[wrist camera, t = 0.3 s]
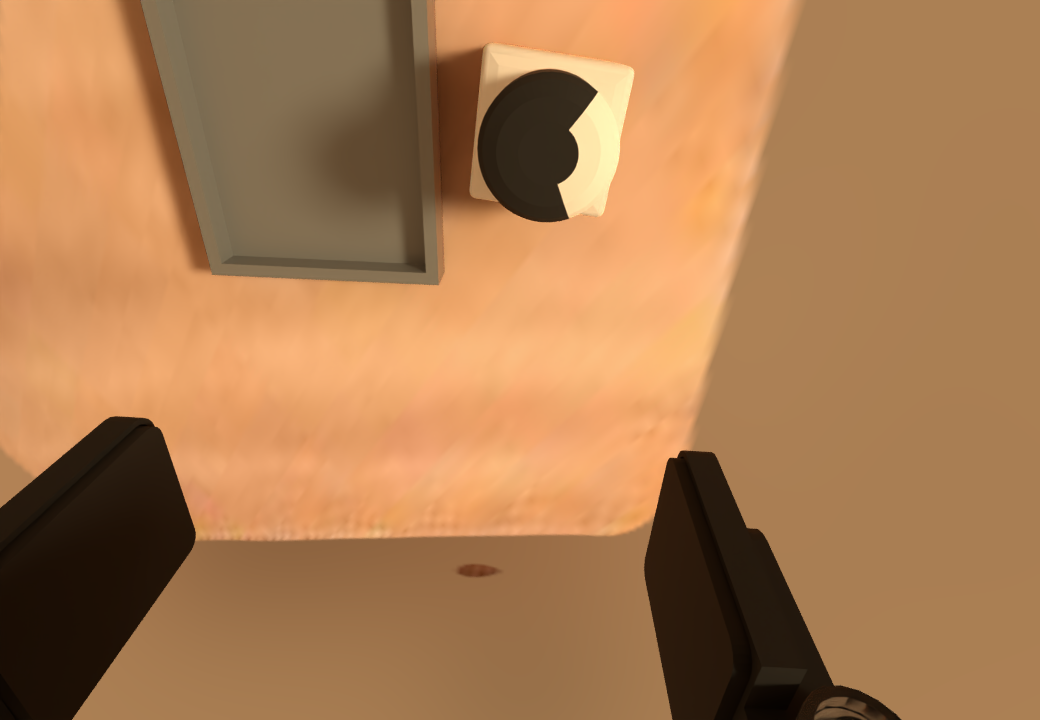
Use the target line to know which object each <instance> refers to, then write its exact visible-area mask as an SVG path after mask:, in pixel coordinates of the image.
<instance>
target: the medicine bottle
mask: <svg viewBox="0 0 1040 720" xmlns="http://www.w3.org/2000/svg"><path fill="white" fill-rule="evenodd" d="M633 79H634V70H633V69H632V67H630V66H627V65H623V64H620V63H616V62H612V61H606V60H600V59H594V58H588V57H582V56H576V55H570V54H564V53H558V52H552V51H546V50H540V49H534V48H528V47H522V46H516V45H510V44H504V43H488V44H487V45H485V46H484V49H483V55H482V66H481V76H480V86H479V97H478V107H477V117H476V128H475V138H474V148H473V159H472V169H471V179H470V194H471V196H472V197H474V198H476V199H483V200H489V201H496V202H499V203H501V204H502V205H503V206H504V207H505V208H506V209H508V210H509V211H511V212H512V213H514V214H516V215H518V216H520V217H522V218H525V219H529V220H532V221H538V222H556V221H562V220H566V219H569V218H572V217H574V216H577V215H586V216H592V217H600V216H601V215H602V214H603V212H604V209H605V205H606V200H607V196H608V191H609V187H610V183H611V181H612V179H613V176H614V174H615V171H616V168H617V164H618V160H619V152H620V137H621V133H622V128H623V124H624V119H625V115H626V110H627V106H628V101H629V97H630V92H631V88H632V83H633Z"/></svg>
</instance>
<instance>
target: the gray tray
mask: <svg viewBox="0 0 1040 720" xmlns="http://www.w3.org/2000/svg"><path fill="white" fill-rule="evenodd" d="M140 1H141V5H142V9H143V13H144V17H145V20H146V24H147V28H148V32H149V36H150V39H151V43H152V47H153V51H154V55H155V58H156V62H157V66H158V70H159V74H160V77H161V81H162V85H163V89H164V93H165V97H166V100H167V104H168V108H169V112H170V116H171V119H172V123H173V127H174V131H175V135H176V138H177V142H178V146H179V150H180V154H181V158H182V161H183V165H184V169H185V173H186V177H187V180H188V184H189V188H190V192H191V196H192V199H193V203H194V207H195V211H196V215H197V219H198V222H199V226H200V230H201V234H202V238H203V241H204V245H205V249H206V253H207V257H208V260H209V264H210V268H211V272H212V275H228V276H250V277H272V278H293V279H315V280H337V281H358V282H380V283H402V284H424V285H439V284H440V281H441V279H442V277H443V274H444V246H443V219H442V191H441V164H440V137H439V110H438V82H437V55H436V28H435V1H434V0H140Z"/></svg>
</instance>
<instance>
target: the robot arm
mask: <svg viewBox="0 0 1040 720" xmlns="http://www.w3.org/2000/svg"><path fill="white" fill-rule="evenodd" d="M195 538H196V532H195V528H194V525H193V522H192V519H191V516H190V513H189V510H188V507H187V504H186V502H185V499H184V496H183V493H182V490H181V487H180V484H179V481H178V478H177V475H176V472H175V469H174V466H173V463H172V460H171V457H170V454H169V451H168V448H167V445H166V443H165V440H164V437H163V434H162V432H161V430H160V429H159V428H158V427H155V426H154V424H153V422H151V421H150V420H149V419H146V418H135V417H118V416H115V417H110V418H108V419H106V420H105V421H103V422H102V423H101V424H100V425H99V426H98V427H96V428H95V429H94V430H93V431H92V432H90V433H89V434H88V435H87V436H86V437H84V438H83V439H82V440H81V441H80V442H78V443H77V444H76V445H75V446H74V447H73V448H71V449H70V450H69V451H68V452H67V453H65V454H64V455H63V456H62V457H61V458H59V459H58V460H57V461H56V462H55V463H53V464H52V465H51V466H50V467H49V468H48V469H46V470H45V471H44V472H43V473H42V474H40V475H39V476H38V477H37V478H36V479H34V480H33V481H32V482H31V483H30V484H28V485H27V486H26V487H25V488H24V489H23V490H21V491H20V492H19V493H18V494H17V495H15V496H14V497H13V498H12V499H11V500H9V501H8V502H7V503H6V504H5V505H3V506H2V507H1V508H0V720H72V719H73V717H74V716H75V715H76V713H77V712H78V710H79V709H80V707H81V706H82V705H83V703H84V702H85V700H86V699H87V698H88V696H89V695H90V693H91V692H92V690H93V689H94V688H95V686H96V685H97V683H98V682H99V681H100V679H101V678H102V676H103V675H104V673H105V672H106V670H107V669H108V668H109V666H110V665H111V663H112V662H113V661H114V659H115V658H116V656H117V655H118V653H119V652H120V651H121V649H122V647H123V646H124V645H125V643H126V642H127V641H128V639H129V638H130V637H131V635H132V634H133V632H134V631H135V629H136V628H137V627H138V625H139V624H140V622H141V621H142V620H143V618H144V617H145V615H146V614H147V613H148V611H149V610H150V608H151V607H152V605H153V604H154V603H155V601H156V600H157V598H158V597H159V595H160V594H161V592H162V591H163V590H164V588H165V587H166V586H167V584H168V583H169V581H170V580H171V578H172V577H173V576H174V574H175V573H176V571H177V570H178V569H179V567H180V566H181V564H182V563H183V561H184V560H185V559H186V557H187V556H188V554H189V553H190V551H191V550H192V548H193V545H194V542H195ZM644 565H645V566H644V571H645V580H646V586H647V591H648V596H649V601H650V606H651V611H652V617H653V622H654V627H655V631H656V637H657V642H658V647H659V652H660V657H661V663H662V668H663V673H664V678H665V683H666V688H667V694H668V698H669V703H670V709H671V714H672V719H673V720H901V719H900V718H899V717H898V715H897V714H895V713H894V712H893V711H892V710H890V709H889V708H888V707H886V706H885V705H884V704H882V703H881V702H880V701H879V700H877V699H875V698H873V697H871V696H869V695H867V694H865V693H863V692H861V691H859V690H856V689H852V688H849V687H845V686H841V685H836V686H834V685H833V683H832V680H831V678H830V676H829V674H828V672H827V670H826V667H825V666H824V663H823V661H822V659H821V657H820V654H819V652H818V650H817V648H816V646H815V644H814V641H813V639H812V637H811V635H810V633H809V631H808V628H807V626H806V624H805V622H804V620H803V617H802V616H801V613H800V611H799V609H798V607H797V604H796V602H795V600H794V598H793V596H792V594H791V592H790V589H789V587H788V585H787V583H786V581H785V579H784V576H783V574H782V572H781V570H780V568H779V565H778V563H777V561H776V559H775V557H774V554H773V553H772V550H771V548H770V546H769V544H768V542H767V540H766V538H765V536H764V535H763V533H762V532H760V531H759V530H758V529H749V528H746V525H745V523H744V520H743V518H742V516H741V513H740V511H739V509H738V507H737V504H736V502H735V499H734V497H733V495H732V492H731V490H730V488H729V485H728V483H727V481H726V478H725V476H724V474H723V471H722V469H721V467H720V464H719V462H718V460H717V458H716V456H715V454H714V453H712V452H699V451H680V453H679V454H678V457H677V458H669V460H668V462H667V465H666V470H665V474H664V478H663V483H662V487H661V491H660V496H659V500H658V504H657V509H656V513H655V517H654V522H653V526H652V531H651V535H650V540H649V544H648V548H647V552H646V557H645V564H644Z"/></svg>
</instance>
